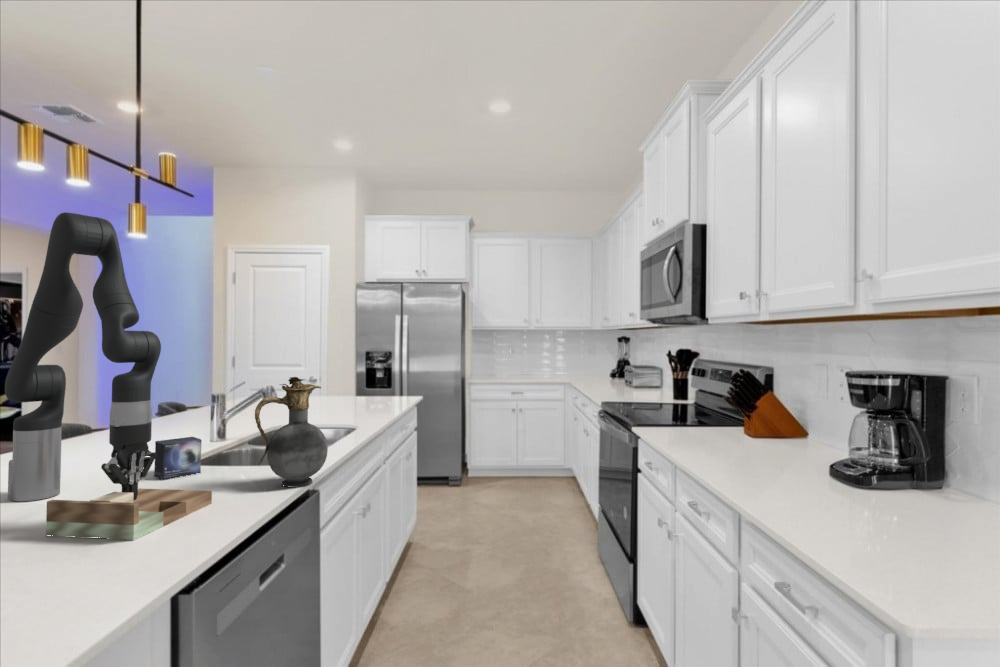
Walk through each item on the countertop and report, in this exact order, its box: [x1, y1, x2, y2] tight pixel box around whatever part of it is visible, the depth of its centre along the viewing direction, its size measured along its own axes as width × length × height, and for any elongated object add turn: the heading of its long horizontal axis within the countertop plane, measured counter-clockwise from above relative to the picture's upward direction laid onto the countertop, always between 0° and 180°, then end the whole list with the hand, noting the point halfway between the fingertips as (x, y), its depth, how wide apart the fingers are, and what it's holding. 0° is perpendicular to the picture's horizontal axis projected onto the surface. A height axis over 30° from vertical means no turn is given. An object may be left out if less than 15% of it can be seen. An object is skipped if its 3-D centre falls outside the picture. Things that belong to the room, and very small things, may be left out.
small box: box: [153, 436, 203, 481], centre depth 153 cm, size 11×6×10 cm, turn 143°
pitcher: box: [254, 376, 329, 487], centre depth 144 cm, size 11×19×30 cm, turn 126°
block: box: [89, 491, 134, 503], centre depth 109 cm, size 4×6×4 cm
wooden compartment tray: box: [45, 487, 213, 541], centre depth 116 cm, size 19×24×7 cm
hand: (129, 500), depth 114 cm, fingers closed
